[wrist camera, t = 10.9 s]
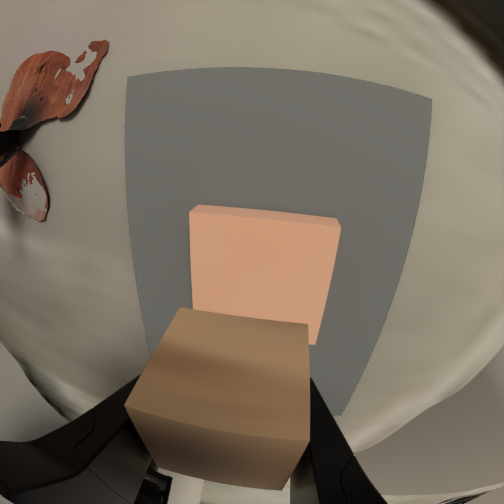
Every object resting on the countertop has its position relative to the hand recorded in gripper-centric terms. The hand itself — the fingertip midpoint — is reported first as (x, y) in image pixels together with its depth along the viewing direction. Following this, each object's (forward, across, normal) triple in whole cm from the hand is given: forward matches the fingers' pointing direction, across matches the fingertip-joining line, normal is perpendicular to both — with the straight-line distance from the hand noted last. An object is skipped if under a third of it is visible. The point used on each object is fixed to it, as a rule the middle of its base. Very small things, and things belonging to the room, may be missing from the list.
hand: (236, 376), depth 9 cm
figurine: (+9, +17, -9) cm, 21 cm away
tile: (+7, 0, +4) cm, 8 cm away
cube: (+1, 0, 0) cm, 1 cm away
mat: (+8, 0, +1) cm, 8 cm away
